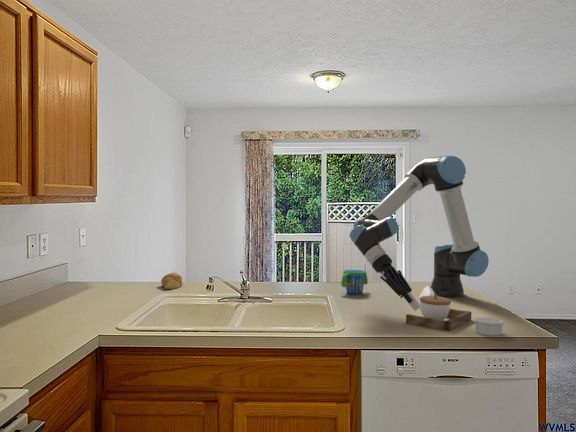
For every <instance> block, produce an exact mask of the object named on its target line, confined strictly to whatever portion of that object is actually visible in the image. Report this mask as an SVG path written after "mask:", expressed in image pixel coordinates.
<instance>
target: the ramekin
mask: <svg viewBox="0 0 576 432" xmlns="http://www.w3.org/2000/svg"><path fill="white" fill-rule="evenodd" d="M474 324H475V325H474V326H475V329H474V330H475V332H476V333H477V334H479V335H483V336H489V337H496V336H498V335H499V336H500V335H502V334H503V325H504V320H502V319H499V318H494V317H489V316H488V317H487V316H485V317H484V316H483V317H482V316H481V317H475V318H474ZM499 336H498V337H499Z"/></svg>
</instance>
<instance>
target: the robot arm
mask: <svg viewBox="0 0 576 432" xmlns="http://www.w3.org/2000/svg"><path fill="white" fill-rule="evenodd" d="M466 170H467V168H466V166H465V163H464V162H463V160H462V159H461V158H459V157H458V156H456V155H441V156H435V157H432V156H431V157H427V158H425V159H423V160H421V161H420V162H418V163H417V164H415V166H413V167H412V168H411V169H410V170H409V171H408V172H406V174H405V175H404V179H403V180H402V181H401V182H400V183H399V184H397V186H396V187H395V188H393V190H392V191H391V192H389V193H388V195H387V196H385V197H384V198H383V199H382V200H381V201H380V202H379V203H378V204H377V205H376V206H375V207H374V208H373V209H372V210H371V211H370V212H369V213H368V214H366V216H365V217H364V218H360V219H357V220H356V221H355V222H354V223H353V227H352V228H353V229H351V231H350V233H349V238H350V240H351V242H352V243H353V245H354V246H356V248H357V249H358V250H359V252H360V254H362V255H363V257H364V258H365V259H366V262H368V263H369V264H370V265H371V267H372V268H373V270H374V271H375V273H379V274H380V275H381V276H380V279H381V280H382V281H383V282H385V284H387V285H388V287H389V288H390V289H392V291H394V293H396V295H397V296H399V297H400V299H402V298H404V300H405V301H406V302H407V303H408V305H409V306H410V307H411V308H412V310H413V311H414V312H416V311H418V310H419V309H420V303H419V300H417V299H416V297H415V296H414V295H413V294H412V291H413V290H412V287H411V286H410V285H409V283H408V282H407V279H406V278H405V277H404V275H403V273H402V271H401V270H400V269H398V270H397V269H396V268H395V267H394V266H393V265H392V263H393V260H392V258H391V257H390V256H389V255H388V253H387V252H386V250H385V249H384V248H383V247H382V246H381V245H380V243H382V242H384V241H385V240H387V239H390V238H391V237H393V236H395V235H396V234H397V233H398V232H399V231H400V230H399V229H400V228H399V224H398V222H397V220H396V219H395V218H394V217H392V216H393V215H394V214H395V213H396V212H398V210H399V209H400V208H401V207H402V206H403V205H404V204H405V203H406V202H407V201H408V200H409V199H410V198H412V197H413V196H414V194H415V193H416V192H420V191H422V190H423V189H424V188H425V187H427V186H429V185H433V186H434V190H435V192H437V193H438V194H439V195H440V198H441V202H442V205H443V209H444V213H445V217H446V220H447V223H448V224H447V225H448V228H449V232H450V235H451V236H450V237H451V239H452V244H439V245H435V247H434V253H433V279H432V281H431V283H430V287H431V288H432V289H433V291H434V293H435V294H437V296H438V297H444V298H448V297H450V298H455V297H456V298H458V297H463V296H464V295H465V290H464V287H463V283H462V279H461V275H463V276H466V277H469V278H470V277H471V278H472V277H473V278H476V277H480V276H482V275H483V274H484V273H485V272H486V271H487V269H488V266H489V263H490V262H489V261H490V260H489V255H488V254H487V253H486V252H485V251H484V250H482V249H481V247H480V244H479V242H478V241H476V240H475V239H474V236H473V232H472V228H471V223H470V219H469V216H468V212H467V208H466V204H465V200H464V197H463V193H462V187H463V185H464V182H463V180H464V179H465V178H466V175H467V174H466V173H467V171H466ZM386 253H387V254H386Z"/></svg>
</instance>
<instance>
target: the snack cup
mask: <svg viewBox="0 0 576 432" xmlns="http://www.w3.org/2000/svg"><path fill="white" fill-rule="evenodd" d="M342 273H343V275H342V277H341V281H340V282H341V284H340V285H341V287H342V288H345V292H347V294H352V295H359V294H363V292H364V286H365V285H368V284H369V283H368V273H367V271H366V270H361V269H360V270H359V269H345V270H343V271H342Z"/></svg>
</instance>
